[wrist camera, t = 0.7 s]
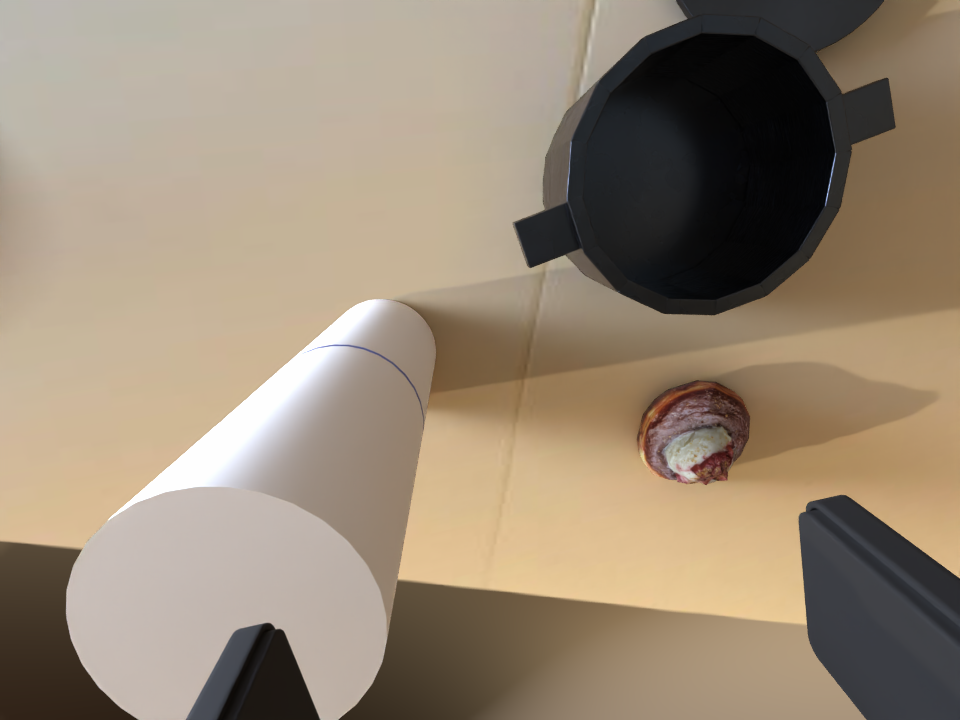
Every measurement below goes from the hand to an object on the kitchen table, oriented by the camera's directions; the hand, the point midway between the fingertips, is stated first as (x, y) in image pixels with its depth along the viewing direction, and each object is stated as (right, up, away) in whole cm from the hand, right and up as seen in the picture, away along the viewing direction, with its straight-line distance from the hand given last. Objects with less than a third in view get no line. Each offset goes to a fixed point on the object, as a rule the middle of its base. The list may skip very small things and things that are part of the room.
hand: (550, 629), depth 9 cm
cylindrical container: (-8, +5, +27) cm, 29 cm away
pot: (+9, +16, +24) cm, 31 cm away
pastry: (+14, 0, +29) cm, 32 cm away
